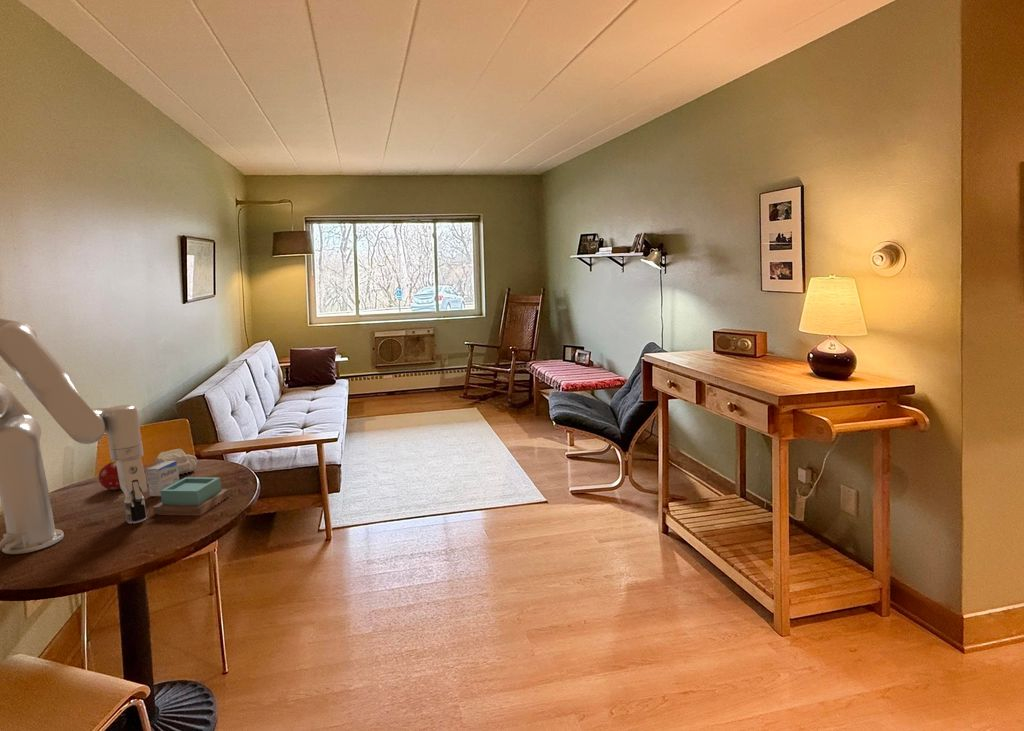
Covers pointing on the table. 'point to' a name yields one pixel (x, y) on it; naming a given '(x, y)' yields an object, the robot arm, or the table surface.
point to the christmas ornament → (109, 476)
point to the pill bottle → (128, 511)
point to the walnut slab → (191, 506)
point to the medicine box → (162, 476)
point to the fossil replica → (178, 460)
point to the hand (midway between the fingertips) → (136, 516)
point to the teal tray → (191, 491)
